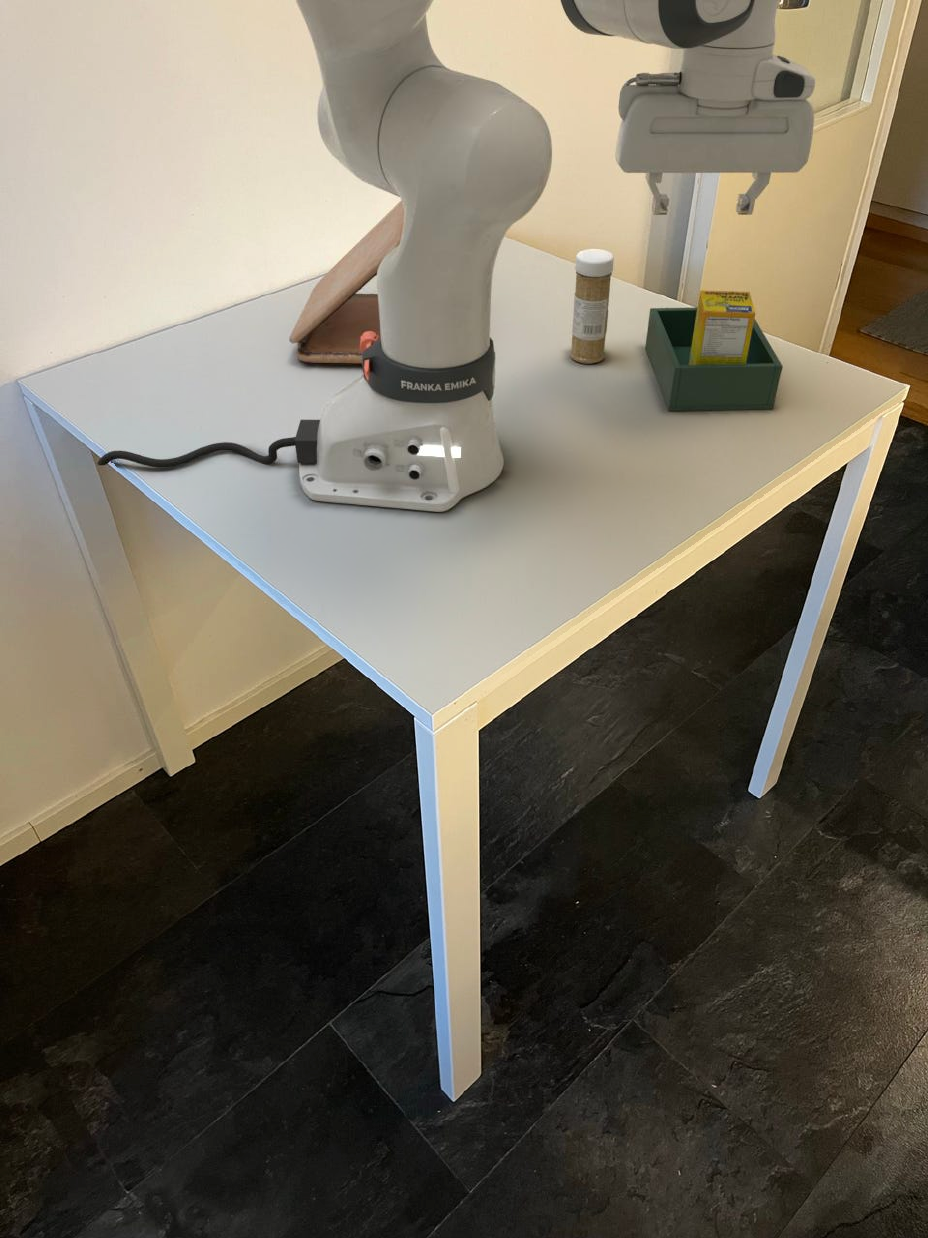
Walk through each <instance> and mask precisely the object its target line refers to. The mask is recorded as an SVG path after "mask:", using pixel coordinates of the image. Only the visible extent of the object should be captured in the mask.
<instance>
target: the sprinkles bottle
mask: <svg viewBox="0 0 928 1238" xmlns="http://www.w3.org/2000/svg"><path fill="white" fill-rule="evenodd" d="M574 267H575V268H574V269H575V274H576V276H575V290H574V291H575V292H574V299H573V316H572V329H571V333H572V337H571V350H570V352H569V355H570V357H571V359H572V360H574V361H576V362H577V363H581V364H589V365H590V364H596V363H600V362H601V361H603V360H604V358H605V355H606V352H605V348H606V347H605V346H606V337H607V331H608V322H609V302H610V290H611V277H612V274H613V270H614V254H612V252H610V251H609V250H606V249H602V248H601V249H600V248H599V249H598V248H588V249H584V250H581V251H579V252H577V254H576V257H575V266H574Z"/></svg>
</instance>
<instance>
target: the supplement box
mask: <svg viewBox="0 0 928 1238" xmlns="http://www.w3.org/2000/svg"><path fill="white" fill-rule="evenodd" d="M696 307H697V314H696V320H695V327H694V333H693V340H692V347H691V353H690V360H689V365H715V364H746V360H747V355H748V350H749V345H750V339H751V334H752V329H753V324H754V319H755V320H756V318H755V316H756V309H755V306H754V303H753V299H752V295H751V293H750V291H732V290H731V291H729V290H726V291H725V290H700V291H699V295H698V302H697V306H696Z"/></svg>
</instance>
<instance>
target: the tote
mask: <svg viewBox="0 0 928 1238" xmlns="http://www.w3.org/2000/svg"><path fill="white" fill-rule="evenodd" d="M697 307H698V306H696V307H695V306H694V307H657V308H656V307H650V309H649V315H648V322H647V323H648V324H647V332H646V338H645V347H644V349H645V352H646V355H647V358H648V360H649V363H650V365H651V368H652V371H653V374H654V377H655V379H656V382H657V384H658V387H659V390H660V393H661V395H662V397H663V401H664V404H665V405H666V408H667V411H668V412H693V411H694V412H697V411H698V412H700V411H741V410H742V411H743V410H745V411H747V410H748V411H749V410H773V409H774V406H775V401H776V399H777V393H778V390H779V389H778V388H779V385H780V381H781V376H782V371H783V368H784V367H783V364H782V362H781V361H780V359H779V357H778V355H777V353H776V352H775V350H774V349H773V347H772V345H771V344H770V342H769V340H768V339H767V337H766V336H765V334H764V332H763V329H761V327H760V324H759V323H758V322H757V319H756V318H755V319H754V324H753V329H752V334H751V339H750V345H749V350H748V355H747V360H746V364H715V365H689V360H690V353H691V347H692V340H693V333H694V327H695V320H696V314H697Z"/></svg>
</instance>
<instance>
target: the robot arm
mask: <svg viewBox="0 0 928 1238" xmlns="http://www.w3.org/2000/svg"><path fill="white" fill-rule="evenodd" d="M780 1H781V0H560V4H561V7H562V9H563V11H564V13H565V16H566V17H567V19H568V20H569V22H570V23H571V24H572V25H573V26H574V27H575V28H576V29H577V30H579V31H580V32H582V33H584V34H587V35H593V36H594V35H595V36H605V37H618V38H622V39H627V40H630V41H635V42H639V43H643V44H648V45H654V46H655V45H656V46H659V47H665V48H669V49H675V50H682V53H681V61H680V69H679V72H661V73H649V72H640V73H636V75H635V77H632V78H630V79H628V80H627V81H626V82H625V83H624V84H623V85H622V87H621V89H620V92H619V98H618V115H619V116H620V119H621V120H620V125H619V129H618V134H617V139H616V145H615V153H614V157H615V161H616V163H617V165H618V167H619V168H620V169H621V170H622V172H623V173H626V174H645V180H646V183H647V184H648V187H649V190H650V192H651V195H652V203H651V213H652V215H653V216H666V215H668V211H669V210H668V209H669V204H670V198H669V197H668V194H666V193H660V191H659V188H658V186H657V184H661V183H662V179H663V174H734V173H735V174H740V173H741V174H747V173H748V174H749V173H750V174H751V177H752V178H753V182H752V184H751V185H750V186H749V188H748V189H747V191H746V192H745V193H738V194H737V203H736V206H735V211H736V213H737V215H738V216H740V215H741V216H744V215H745V216H749V215H750V216H751V215H753V213H754V208H755V203H756V200H757V199H758V198H759V197H760V195H761V194H762V193H763V191H765V189H766V188H767V186H768V185H769V184H770V179H771V175H772V174H773V173H775V174H776V173H778V174H779V173H782V174H783V173H786V174H787V173H789V174H792V173H798V172H800V171H801V170H802V169H803V168H804V167H805V166H806V165H807V163H808V161H809V157H810V153H811V148H812V142H813V134H814V124H815V111H814V107H813V106H812V104H811V103H810V102H809V101H808V99H809V98H811V96H813V93H814V90H815V86H816V78H815V76H814V75H813V74H812V73H811V72H810V71H809V70H808V69H806V68H805V67H804V66H802V65H801V64H799V63H797V62H795V61H792V60H789V59H788V58H786V57H784V56H781V55H776V54H774V48H775V42H776V16H777V10H778V7H779V4H780ZM295 2H296V4H297V6H298V8H299V11H300V13H301V15H302V18H303V20H304V22H305V24H306V27H307V29H308V33H309V36H310V39H311V41H312V45H313V47H314V51H315V55H316V58H317V62H318V67H319V71H320V76H321V82H322V87H321V90H320V93H319V97H318V104H317V111H316V112H317V125H318V131H319V134H320V137H321V139H322V143H323V144H324V146H325V148H326V149H327V151H328V152H329V153H330V154H331V155H332V156H333V157H334V159H336V161H338V162H339V163H340V164H341V165H342V166H343V167H344V168H345V169H347V171H349V172H350V173H351V174H352V175H354V176H355V177H356V178H357V179H359V180H360V181H362V182H364V183H365V184H368V185H369V186H372V187H374V188H377V189H379V190H381V191H384V192H386V193H389V194H391V195H393V196H396V197H398V198H400V201H402V203H403V207H404V226H403V232H402V237H401V241H400V244H399V246H397V247H396V248H394V249H393V250H392V251H391V252H390V253H388V254H387V255H386V256H385V257H384V259H383V260H382V262H381V263H380V266H379V268H378V272H377V275H376V289H377V290H376V291H377V294H378V306H379V320H380V335H381V338H380V339H379V336H378V335H376V333H375V332H372V331H367V332H364V333H363V336H361V339H360V350H361V352H362V353H363V354H362V364H361V365H362V366H361V367H362V375H361V376H360V377H358V378H357V379H356V380H355V381H353V382H352V383H350V384H348V385H347V386H346V387H345V388H343V389H342V390H340V391H339V392H337V393H335V394H334V395H333V396H332V397H331V398H330V399H329V400H328V402H327V403H326V405H325V407H324V409H323V411H322V413H321V416H320V419H300V420H299V424H298V427H297V430H296V433H295V436H292V437H284V438H279V439H277V440H275V441H274V442H272V443H270V445H269V446H268V449H267V451H268V455H261V454H259V453H257V452H255V451H253V450H252V449H250V448H249V447H247V446H244V445H242V444H239V443H236V442H230V441H229V442H226V441H224V442H223V441H222V442H216V443H210V444H207V445H204V446H202V447H200V448H197V449H195V450H193V451H192V450H191V451H190V452H188V453H185V454H183V455H180V456H176V457H172V458H163V459H162V458H161V459H160V458H154V457H153V458H152V457H148V456H144V455H141V454H137V453H134V452H131V451H126V450H112V451H109V452H107V453H105V454H104V455H102V456H101V457H100V458H99V460H98V461H97V464H96V465H98V466H106V465H108V464H109V463H110V462H113V461H114V460H119V459H120V460H124V461H125V460H126V461H129V462H132V463H136V464H139V465H142V466H146V467H151V468H161V469H163V468H165V469H166V468H172V467H173V468H175V467H178V466H183V465H186V464H188V463H190V462H193V461H195V460H197V459H200V458H202V457H204V456H207V455H210V454H212V453H216V452H222V451H223V452H225V451H227V452H228V451H229V452H234V453H238V454H240V455H242V456H244V457H246V458H247V459H250V460H253V461H254V462H257V463H259V464H264V465H271V464H273V463H275V462H276V461H277V459H278V450H280V449H282V448H288V447H295V454H296V460H297V464H298V475H299V477H298V479H299V484H300V487H301V489H302V491H303V492H304V494H305V495H306V496H307V497H308V498H309V499H310V500H313V501H317V502H325V503H327V502H328V503H337V504H348V505H349V504H350V505H358V506H359V505H360V506H368V507H369V506H370V507H380V508H390V509H391V508H393V509H404V510H414V511H423V512H425V511H426V512H435V513H441V512H442V513H443V512H446V511H448V510H451V509H452V508H453V507H454V506H456V505H457V504H458V503H459V502H460V501H461V500H462V499H463V498H466V497H468V496H470V495H472V494H475V493H477V492H479V491H481V490H483V489H485V488H487V487H488V486H490V485H491V484H493V482H495V481H496V480H497V478H498V477H499V476H500V475H501V473H502V471H503V469H504V466H505V465H504V464H505V460H504V455H503V452H502V449H501V446H500V443H499V439H498V438H499V437H498V434H497V430H496V425H495V417H494V409H493V397H494V392H495V391H494V389H495V388H496V352H495V346H494V340H493V338H492V337H491V311H492V292H493V291H492V290H493V289H492V288H493V275H494V270H495V264H496V260H497V257H498V254H499V249H500V247H501V245H502V242H503V241H504V238H505V236H506V235H507V232H508V231H509V230H510V229H511V227H512V226H513V225H514V224H516V223H517V222H519V221H520V220H522V219H523V218H524V217H525V216H527V214H529V213H530V211H531V210H533V208H534V207H535V205H536V204H537V203H538V201H539V200H540V198H541V197H542V195H543V193H544V191H545V189H546V187H547V184H548V181H549V178H550V174H551V170H552V164H553V163H552V162H553V142H552V136H551V132H550V128H549V125H548V124H547V121H546V119H545V117H544V116H543V114H542V113H541V112H540V111H539V110H538V109H537V108H536V107H534V106H533V105H531V104H530V103H529V102H527V101H526V100H524V99H523V98H522V97H520V96H519V95H517V94H516V93H514V92H513V91H511V90H509V89H508V88H507V87H505V86H503V85H502V84H500V83H498V82H495V81H492V80H489V79H485V78H481V77H479V76H474V75H471V74H467V73H464V72H461V71H457V70H454V69H453V70H452V69H450V68H449V67H447V66H445V65H444V63H443V62H442V61H441V60H440V59H439V58H438V56H437V54H436V53H435V51H434V49H433V47H432V44H431V40H430V36H429V31H428V30H429V29H428V22H427V21H428V20H427V13H428V11H429V10H430V8H431V7H432V4H433V2H434V0H295ZM633 83H635V84H633Z"/></svg>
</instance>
